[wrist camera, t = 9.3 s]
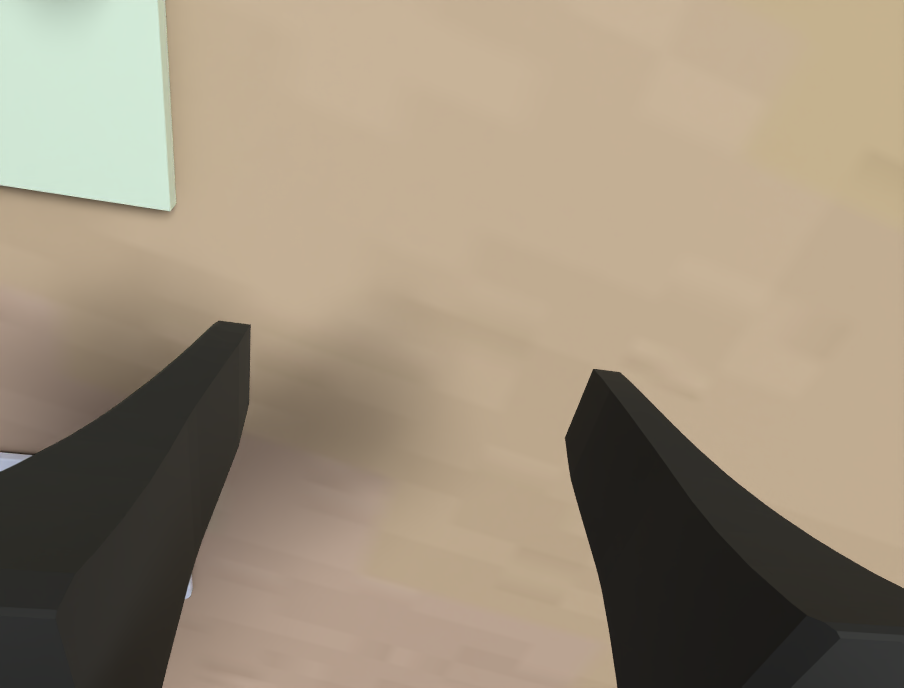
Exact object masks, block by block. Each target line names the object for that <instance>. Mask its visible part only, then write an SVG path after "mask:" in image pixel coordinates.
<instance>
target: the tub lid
mask: <svg viewBox="0 0 904 688" xmlns="http://www.w3.org/2000/svg"><path fill="white" fill-rule="evenodd" d="M0 185H3V186H9V187H16V188H22V189H29V190H35V191H42V192H48V193H55V194H61V195H68V196H74V197H81V198H87V199H94V200H100V201H107V202H113V203H120V204H126V205H133V206H139V207H146V208H152V209H159V210H165V211H171V210H172V209H173V207H174V206H175V205H176V191H175V173H174V154H173V136H172V118H171V99H170V81H169V63H168V45H167V26H166V8H165V0H0Z"/></svg>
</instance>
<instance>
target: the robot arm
mask: <svg viewBox="0 0 904 688" xmlns="http://www.w3.org/2000/svg"><path fill="white" fill-rule="evenodd" d="M250 328H251V325H248V324H241V323H233V322H225V321H218V322H216V323H215V324H213V325H212V326H211V327H210V328H209V329H208V330H207V331H206V332H205V333H204V334H203V335H201V336H200V337H199V338H198V339H197V340H196V341H195V342H194V343H193V344H192V345H191V346H190V347H189V348H187V349H186V350H185V351H184V352H183V353H182V354H181V355H180V356H178V357H177V358H176V359H175V360H174V361H173V362H171V363H170V364H169V365H168V366H167V367H166V368H164V369H163V370H162V371H161V372H160V373H158V374H157V375H156V376H155V377H154V378H152V379H151V380H150V381H149V382H147V383H146V384H145V385H143V386H142V387H141V388H139V389H138V390H137V391H135V392H134V393H133V394H131V395H130V396H129V397H127V398H126V399H125V400H123V401H122V402H121V403H119V404H118V405H117V406H115V407H114V408H112V409H111V410H109V411H108V412H106V413H105V414H104V415H102V416H101V417H99V418H98V419H96V420H94V421H93V422H91V423H90V424H88V425H87V426H85V427H83V428H82V429H80V430H78V431H77V432H75V433H74V434H72V435H70V436H68V437H67V438H65V439H63V440H61V441H59V442H57V443H56V444H54V445H52V446H50V447H48V448H46V449H44V450H42V451H40V452H38V453H36V454H35V455H24V454H13V453H3V452H0V688H162V685H163V681H164V677H165V673H166V669H167V665H168V661H169V657H170V653H171V649H172V646H173V642H174V638H175V634H176V630H177V626H178V622H179V619H180V615H181V611H182V607H183V603H184V600H185V599H187V598H189V597H190V596H191V593H192V589H193V586H192V570H193V567H194V563H195V560H196V557H197V554H198V551H199V548H200V545H201V542H202V539H203V537H204V534H205V532H206V529H207V526H208V524H209V521H210V519H211V516H212V514H213V511H214V508H215V506H216V503H217V501H218V498H219V496H220V493H221V490H222V488H223V485H224V483H225V480H226V478H227V475H228V472H229V470H230V467H231V465H232V462H233V459H234V457H235V454H236V451H237V449H238V446H239V442H240V438H241V434H242V430H243V426H244V422H245V418H246V414H247V410H248V405H249V381H250ZM565 441H566V449H567V457H568V464H569V471H570V477H571V481H572V485H573V489H574V492H575V496H576V500H577V503H578V507H579V510H580V514H581V517H582V520H583V524H584V527H585V531H586V534H587V538H588V541H589V544H590V548H591V551H592V555H593V558H594V562H595V565H596V568H597V572H598V576H599V580H600V585H601V589H602V594H603V599H604V605H605V611H606V616H607V622H608V628H609V633H610V640H611V647H612V653H613V660H614V667H615V673H616V680H617V688H904V588H902V587H900V586H898V585H896V584H894V583H892V582H890V581H888V580H886V579H884V578H882V577H880V576H878V575H876V574H875V573H873V572H871V571H869V570H867V569H866V568H864V567H862V566H860V565H859V564H857V563H855V562H853V561H852V560H850V559H848V558H846V557H845V556H843V555H841V554H839V553H838V552H836V551H834V550H833V549H831V548H830V547H828V546H826V545H825V544H823V543H821V542H820V541H818V540H817V539H815V538H813V537H812V536H810V535H809V534H807V533H806V532H804V531H803V530H801V529H800V528H798V527H797V526H795V525H794V524H792V523H791V522H789V521H788V520H786V519H785V518H783V517H782V516H781V515H779V514H778V513H776V512H775V511H774V510H772V509H771V508H769V507H768V506H767V505H765V504H764V503H763V502H761V501H760V500H759V499H757V498H756V497H755V496H754V495H752V494H751V493H750V492H748V491H747V490H746V489H745V488H743V487H742V486H741V485H739V484H738V483H737V482H736V481H734V480H733V479H732V478H731V477H730V476H728V475H727V474H726V473H725V472H724V471H723V470H721V469H720V468H719V467H718V466H717V465H716V464H715V463H714V462H712V461H711V460H710V459H709V458H708V457H707V456H706V455H705V454H703V453H702V452H701V451H700V450H699V449H698V448H697V447H696V446H695V445H694V444H693V443H692V442H691V441H689V440H688V439H687V438H686V437H685V436H684V435H683V434H682V433H681V432H680V431H679V430H678V429H677V428H676V427H675V426H674V425H673V424H672V423H671V422H670V421H669V420H668V419H667V418H666V417H665V416H664V415H663V414H662V413H661V412H660V411H659V410H658V409H657V408H656V407H655V406H654V405H653V404H652V403H651V402H650V401H649V400H648V399H647V398H646V397H645V396H644V395H643V394H642V393H641V392H640V391H639V390H638V389H637V388H636V387H635V386H634V385H633V384H632V383H631V382H630V381H629V380H628V379H627V378H626V377H625V376H624V375H622V374H621V373H620V372H614V371H606V370H598V369H593V371H592V373H591V376H590V378H589V381H588V383H587V386H586V388H585V390H584V393H583V395H582V398H581V400H580V403H579V405H578V407H577V410H576V412H575V415H574V417H573V420H572V422H571V424H570V427H569V429H568V432H567V434H566V437H565Z"/></svg>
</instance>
